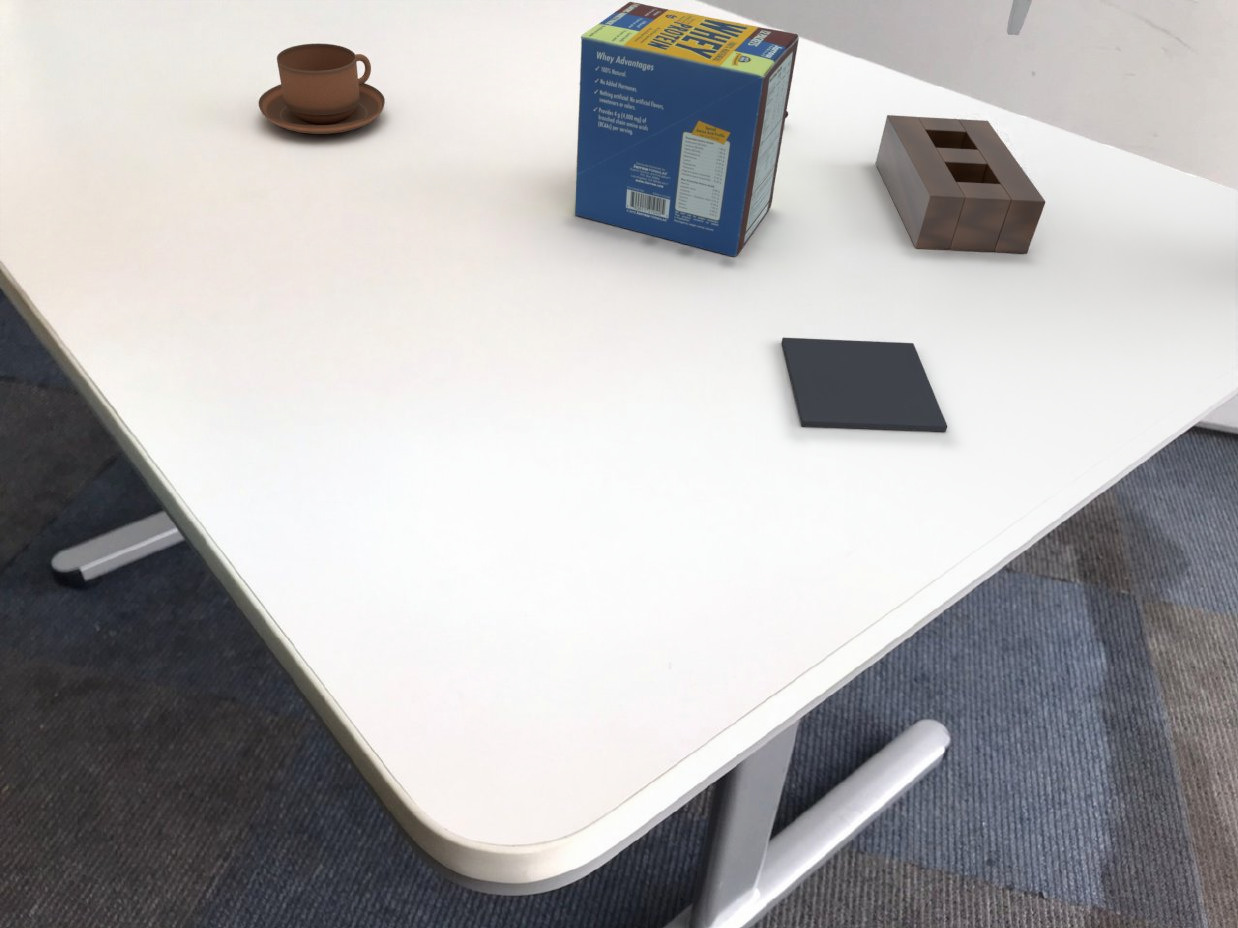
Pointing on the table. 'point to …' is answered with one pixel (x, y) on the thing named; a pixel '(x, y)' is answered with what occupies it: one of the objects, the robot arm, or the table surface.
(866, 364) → the mat
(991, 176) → the pen stand
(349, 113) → the cup and saucer
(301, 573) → the table surface
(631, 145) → the protein box
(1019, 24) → the pen
